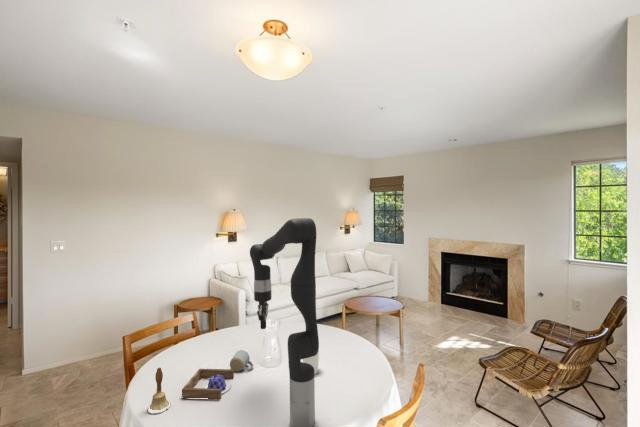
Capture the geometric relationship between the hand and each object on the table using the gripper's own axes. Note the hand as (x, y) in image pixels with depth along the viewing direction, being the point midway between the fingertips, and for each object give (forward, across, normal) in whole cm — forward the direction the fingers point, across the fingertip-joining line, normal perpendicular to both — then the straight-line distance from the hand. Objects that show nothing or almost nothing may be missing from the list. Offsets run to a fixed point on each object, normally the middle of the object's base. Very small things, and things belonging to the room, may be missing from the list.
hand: (263, 328), depth 145 cm
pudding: (+26, -1, +21) cm, 34 cm away
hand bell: (+26, -15, +39) cm, 50 cm away
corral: (+26, -1, +24) cm, 35 cm away
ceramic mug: (+26, +17, +14) cm, 34 cm away
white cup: (+26, +14, -20) cm, 36 cm away
